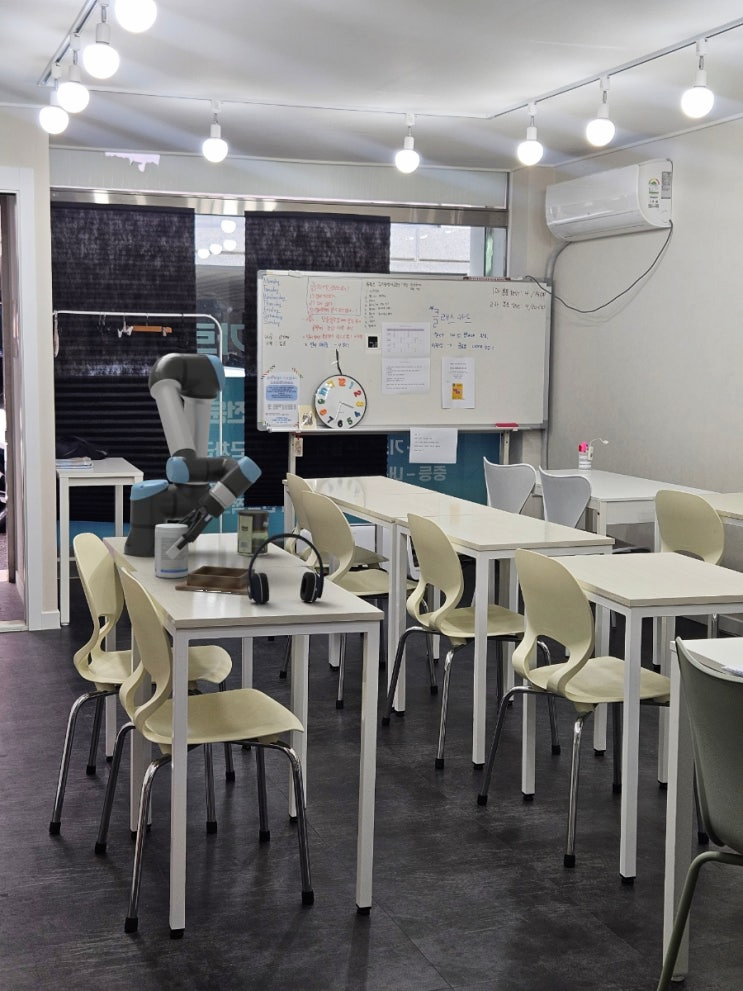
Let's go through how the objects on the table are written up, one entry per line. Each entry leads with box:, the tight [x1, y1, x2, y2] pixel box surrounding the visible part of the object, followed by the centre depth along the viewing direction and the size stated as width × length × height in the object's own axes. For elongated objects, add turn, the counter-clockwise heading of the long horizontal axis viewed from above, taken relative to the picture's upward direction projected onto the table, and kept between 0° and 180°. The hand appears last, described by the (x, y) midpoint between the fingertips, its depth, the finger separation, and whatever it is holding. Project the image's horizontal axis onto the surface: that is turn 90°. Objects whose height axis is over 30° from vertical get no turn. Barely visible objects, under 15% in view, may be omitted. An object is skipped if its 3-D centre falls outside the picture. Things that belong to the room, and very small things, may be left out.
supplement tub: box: [154, 523, 189, 579], centre depth 340 cm, size 10×10×15 cm
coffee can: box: [236, 509, 270, 557], centre depth 386 cm, size 10×10×14 cm
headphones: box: [247, 532, 325, 604], centre depth 308 cm, size 20×7×18 cm, turn 108°
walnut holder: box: [174, 565, 256, 595], centre depth 328 cm, size 20×20×4 cm
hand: (164, 552), depth 339 cm, fingers open, 13 cm apart
